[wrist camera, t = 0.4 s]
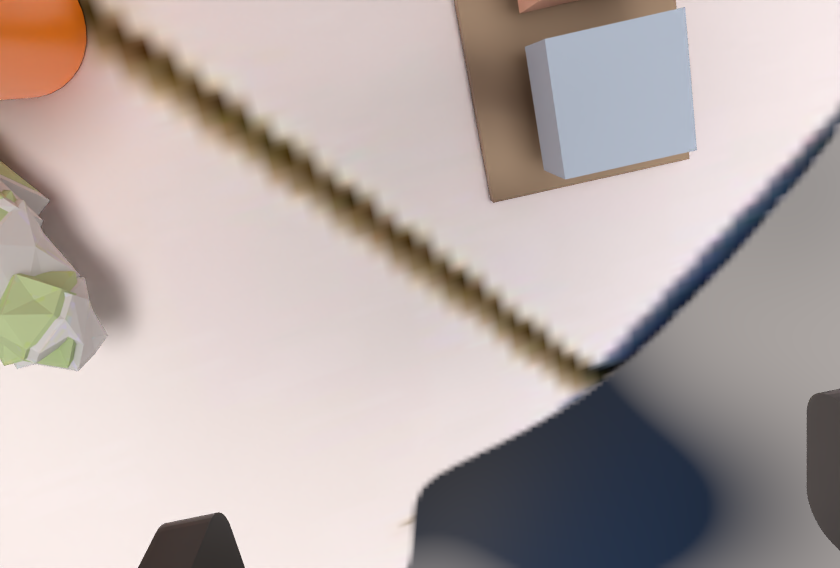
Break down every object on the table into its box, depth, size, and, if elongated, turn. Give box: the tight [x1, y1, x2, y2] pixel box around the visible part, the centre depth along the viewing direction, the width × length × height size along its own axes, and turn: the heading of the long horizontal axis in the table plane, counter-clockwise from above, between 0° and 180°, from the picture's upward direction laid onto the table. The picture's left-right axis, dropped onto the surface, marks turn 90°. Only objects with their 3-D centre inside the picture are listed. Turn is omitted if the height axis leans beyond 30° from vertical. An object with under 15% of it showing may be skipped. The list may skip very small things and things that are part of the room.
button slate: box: [525, 7, 697, 179], centre depth 29 cm, size 6×6×4 cm
